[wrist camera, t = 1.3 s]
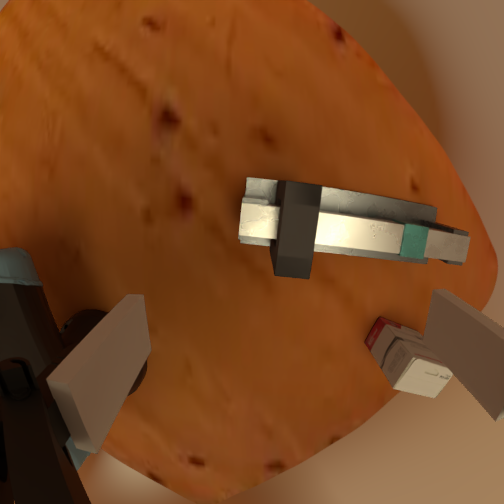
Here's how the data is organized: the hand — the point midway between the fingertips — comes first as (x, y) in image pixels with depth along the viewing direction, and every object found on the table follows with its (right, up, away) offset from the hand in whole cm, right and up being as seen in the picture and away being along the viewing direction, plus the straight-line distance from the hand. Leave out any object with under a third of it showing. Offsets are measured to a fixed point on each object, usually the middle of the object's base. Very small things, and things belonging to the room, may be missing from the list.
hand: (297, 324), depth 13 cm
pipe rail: (+10, +7, +25) cm, 28 cm away
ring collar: (+2, +7, +22) cm, 24 cm away
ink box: (+19, -10, +29) cm, 37 cm away
